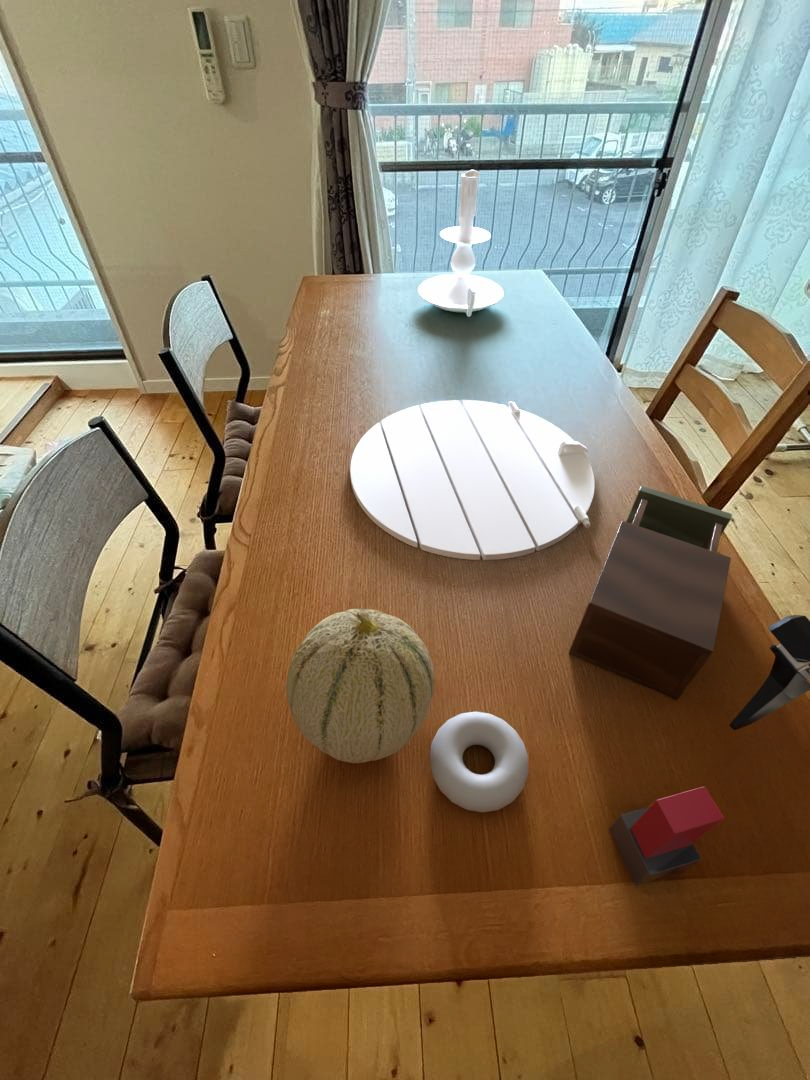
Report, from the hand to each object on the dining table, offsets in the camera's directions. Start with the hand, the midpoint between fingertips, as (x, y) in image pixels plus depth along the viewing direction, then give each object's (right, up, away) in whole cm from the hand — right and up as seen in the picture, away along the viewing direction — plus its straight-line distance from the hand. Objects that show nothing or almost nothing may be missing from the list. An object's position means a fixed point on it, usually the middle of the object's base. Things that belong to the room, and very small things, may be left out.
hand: (769, 781), depth 44 cm
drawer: (+5, +16, +32) cm, 36 cm away
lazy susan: (-18, +30, +47) cm, 59 cm away
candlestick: (-15, +75, +90) cm, 119 cm away
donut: (-22, -4, +13) cm, 26 cm away
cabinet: (0, +8, +25) cm, 26 cm away
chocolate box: (-6, -7, +5) cm, 11 cm away
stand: (-6, -10, +8) cm, 14 cm away
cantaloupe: (-33, 0, +17) cm, 37 cm away
